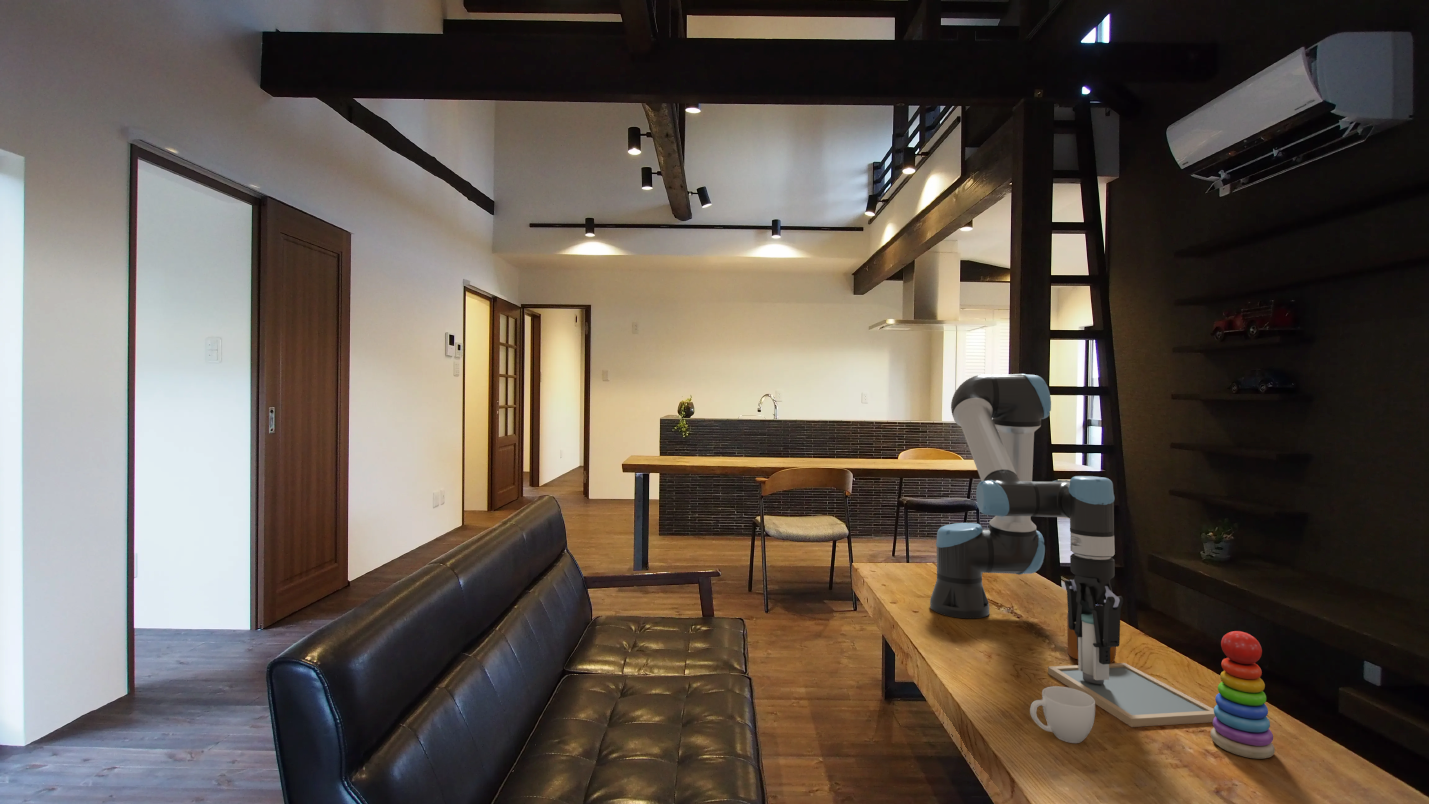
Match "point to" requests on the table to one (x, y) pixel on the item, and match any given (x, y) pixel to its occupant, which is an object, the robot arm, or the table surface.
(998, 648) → the table surface
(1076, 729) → the cup
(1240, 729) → the stacking toy
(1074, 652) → the mug
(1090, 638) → the teal and white cylinder
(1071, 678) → the board
